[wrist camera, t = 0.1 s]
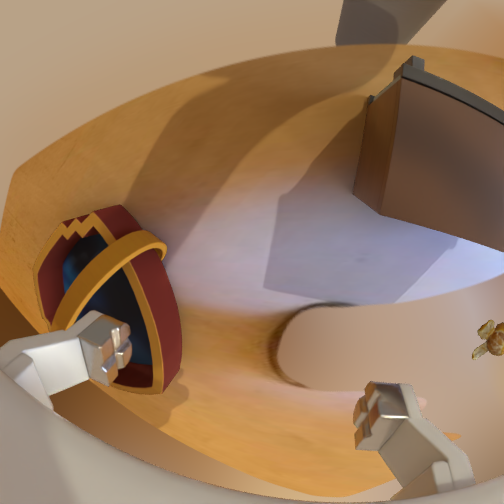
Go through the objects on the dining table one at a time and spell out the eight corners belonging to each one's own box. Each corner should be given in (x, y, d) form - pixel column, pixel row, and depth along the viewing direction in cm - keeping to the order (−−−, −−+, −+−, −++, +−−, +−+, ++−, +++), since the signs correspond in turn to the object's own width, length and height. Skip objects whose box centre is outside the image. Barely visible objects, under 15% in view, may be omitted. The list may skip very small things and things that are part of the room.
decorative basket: (111, 169, 39) (30, 172, 25) (248, 308, 37) (193, 374, 23) (58, 301, 51) (6, 325, 37) (146, 403, 49) (102, 447, 35)
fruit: (480, 320, 33) (490, 332, 29) (513, 311, 31) (524, 321, 28) (469, 360, 35) (477, 373, 32) (502, 350, 33) (510, 361, 30)
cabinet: (368, 96, 28) (403, 62, 15) (516, 159, 25) (576, 167, 12) (352, 194, 32) (379, 215, 19) (499, 239, 29) (554, 272, 16)
